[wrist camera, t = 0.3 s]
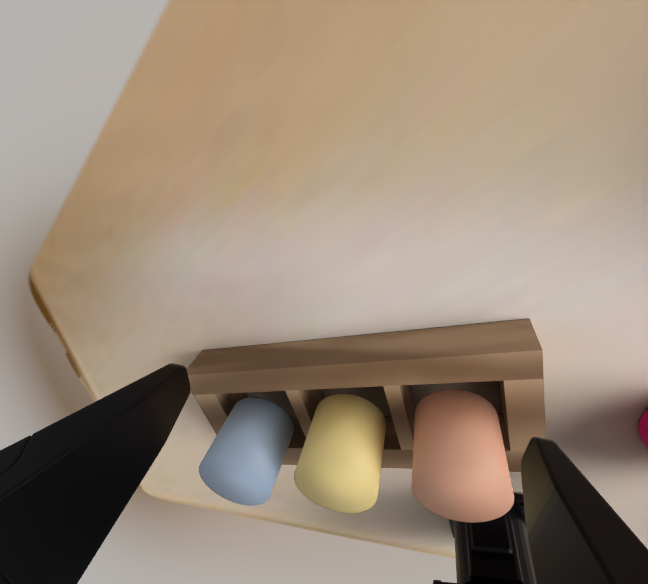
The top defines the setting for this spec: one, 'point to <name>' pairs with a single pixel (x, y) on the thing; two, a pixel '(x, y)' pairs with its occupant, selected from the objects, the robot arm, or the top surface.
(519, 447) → the wooden compartment tray
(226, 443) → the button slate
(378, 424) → the button ochre
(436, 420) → the salmon rounded lump
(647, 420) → the pepper mill
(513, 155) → the top surface
